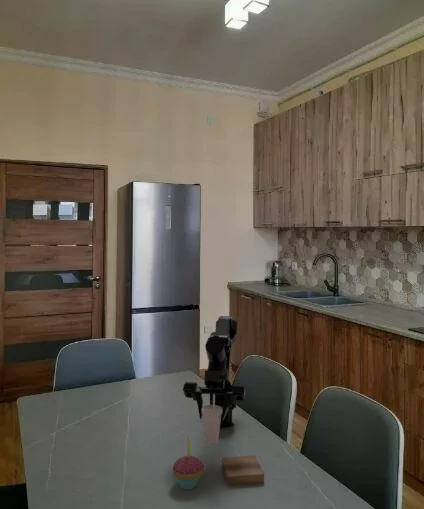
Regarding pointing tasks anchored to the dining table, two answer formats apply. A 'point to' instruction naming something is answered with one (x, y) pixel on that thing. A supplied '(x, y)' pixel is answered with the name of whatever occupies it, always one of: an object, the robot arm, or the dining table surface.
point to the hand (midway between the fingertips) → (211, 419)
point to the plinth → (242, 470)
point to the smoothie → (211, 421)
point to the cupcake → (188, 469)
